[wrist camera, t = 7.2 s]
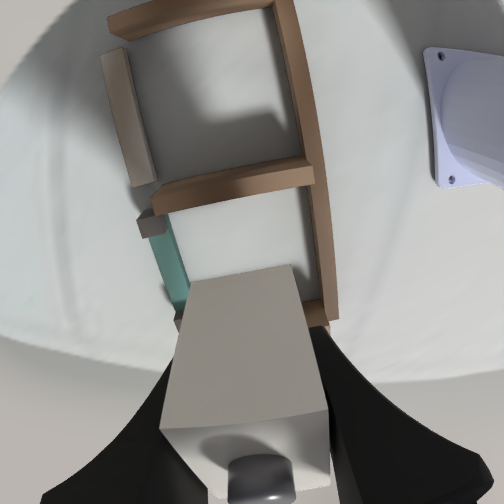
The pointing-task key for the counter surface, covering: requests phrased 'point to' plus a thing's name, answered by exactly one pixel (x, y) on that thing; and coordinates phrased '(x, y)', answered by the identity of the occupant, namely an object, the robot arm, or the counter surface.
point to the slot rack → (232, 180)
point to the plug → (248, 390)
